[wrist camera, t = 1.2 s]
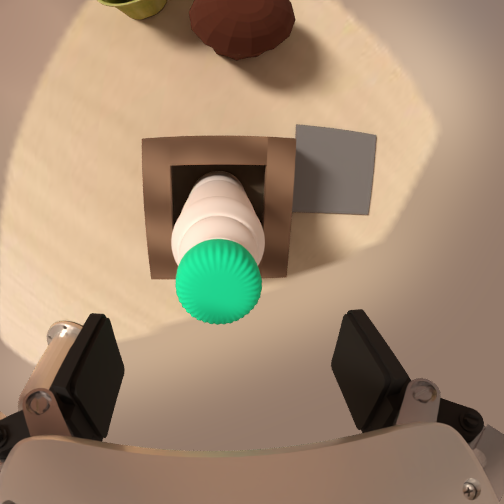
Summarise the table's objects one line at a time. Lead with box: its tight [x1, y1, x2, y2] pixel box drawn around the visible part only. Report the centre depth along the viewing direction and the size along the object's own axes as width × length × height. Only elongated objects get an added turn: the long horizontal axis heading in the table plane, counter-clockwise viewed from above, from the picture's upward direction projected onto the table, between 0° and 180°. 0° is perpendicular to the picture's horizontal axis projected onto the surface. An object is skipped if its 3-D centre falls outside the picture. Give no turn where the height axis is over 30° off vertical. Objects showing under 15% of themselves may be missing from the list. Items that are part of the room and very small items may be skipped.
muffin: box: [189, 0, 295, 60], centre depth 25 cm, size 12×11×10 cm
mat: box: [292, 125, 376, 214], centre depth 38 cm, size 12×12×1 cm
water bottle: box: [171, 171, 265, 325], centre depth 26 cm, size 7×7×25 cm
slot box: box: [142, 136, 296, 279], centre depth 34 cm, size 16×16×8 cm
